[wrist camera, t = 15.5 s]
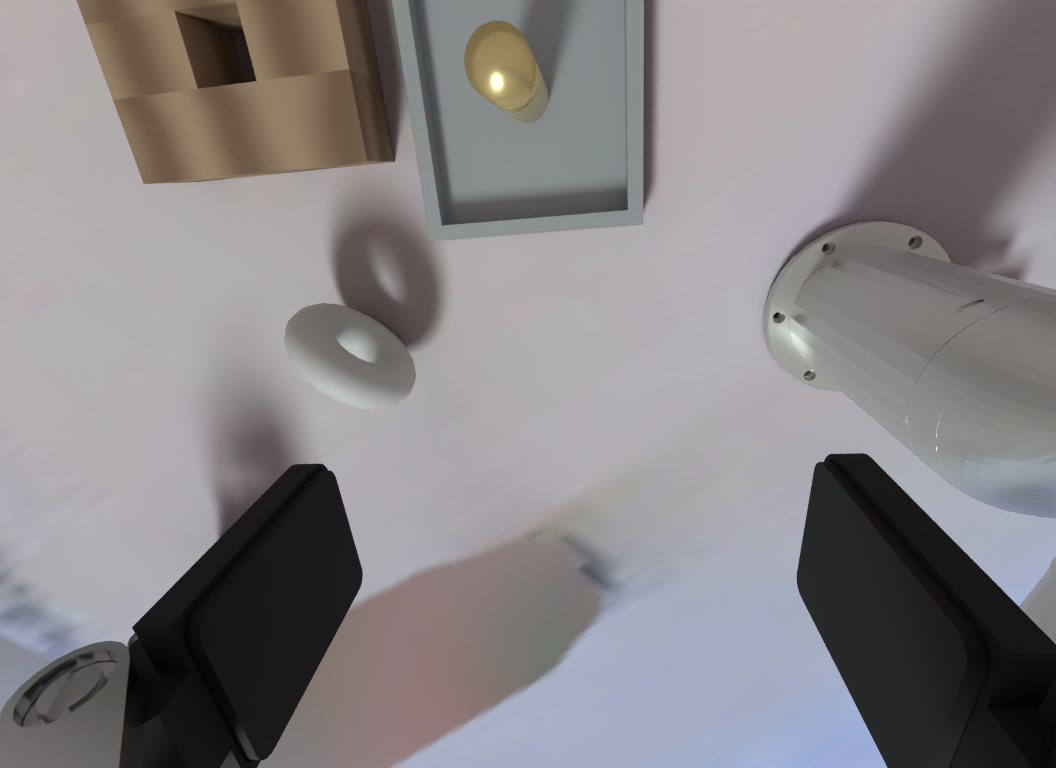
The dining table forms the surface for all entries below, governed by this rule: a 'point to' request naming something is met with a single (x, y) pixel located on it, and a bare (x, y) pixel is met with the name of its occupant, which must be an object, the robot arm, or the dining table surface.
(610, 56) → the tray
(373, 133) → the pin block
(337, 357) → the donut
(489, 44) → the pin
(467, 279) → the dining table surface
